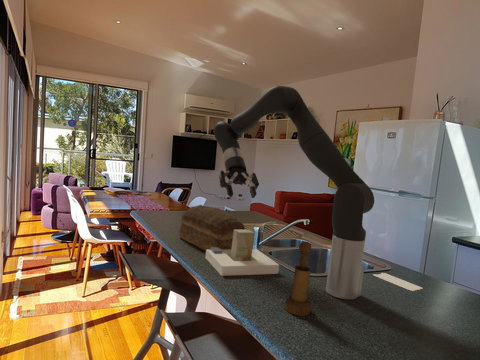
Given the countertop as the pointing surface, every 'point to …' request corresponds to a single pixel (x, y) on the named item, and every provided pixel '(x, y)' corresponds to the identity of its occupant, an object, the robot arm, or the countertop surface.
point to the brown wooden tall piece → (300, 285)
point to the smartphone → (397, 281)
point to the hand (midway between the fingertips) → (242, 196)
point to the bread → (209, 227)
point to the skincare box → (242, 245)
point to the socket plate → (240, 263)
